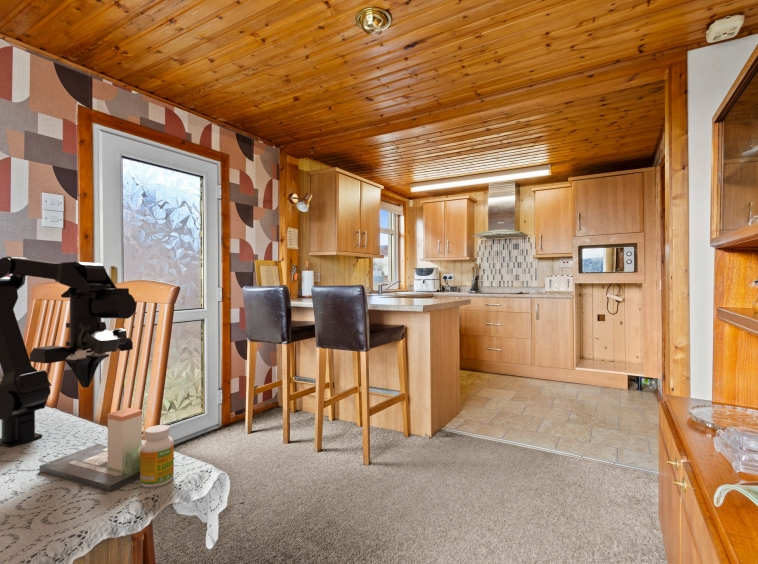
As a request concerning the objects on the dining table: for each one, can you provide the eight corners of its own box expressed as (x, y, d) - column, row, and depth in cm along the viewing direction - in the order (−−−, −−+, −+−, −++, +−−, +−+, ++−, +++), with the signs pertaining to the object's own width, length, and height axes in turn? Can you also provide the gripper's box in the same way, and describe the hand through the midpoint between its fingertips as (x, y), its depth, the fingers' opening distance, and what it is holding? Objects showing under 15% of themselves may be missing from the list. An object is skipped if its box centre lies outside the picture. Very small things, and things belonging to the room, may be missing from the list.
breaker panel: (39, 471, 77) (39, 445, 77) (97, 449, 87) (97, 425, 87) (110, 492, 69) (110, 462, 69) (164, 465, 79) (164, 439, 79)
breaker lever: (107, 466, 76) (107, 414, 76) (127, 457, 80) (127, 407, 80) (121, 470, 75) (122, 416, 75) (141, 461, 78) (142, 410, 78)
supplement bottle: (158, 490, 70) (159, 435, 70) (132, 486, 71) (133, 432, 71) (180, 475, 75) (180, 424, 75) (155, 472, 77) (155, 422, 77)
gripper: (62, 323, 77) (62, 403, 77) (149, 316, 95) (148, 381, 95) (28, 321, 81) (27, 397, 82) (117, 314, 99) (116, 376, 99)
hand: (85, 387), depth 89 cm, fingers closed
